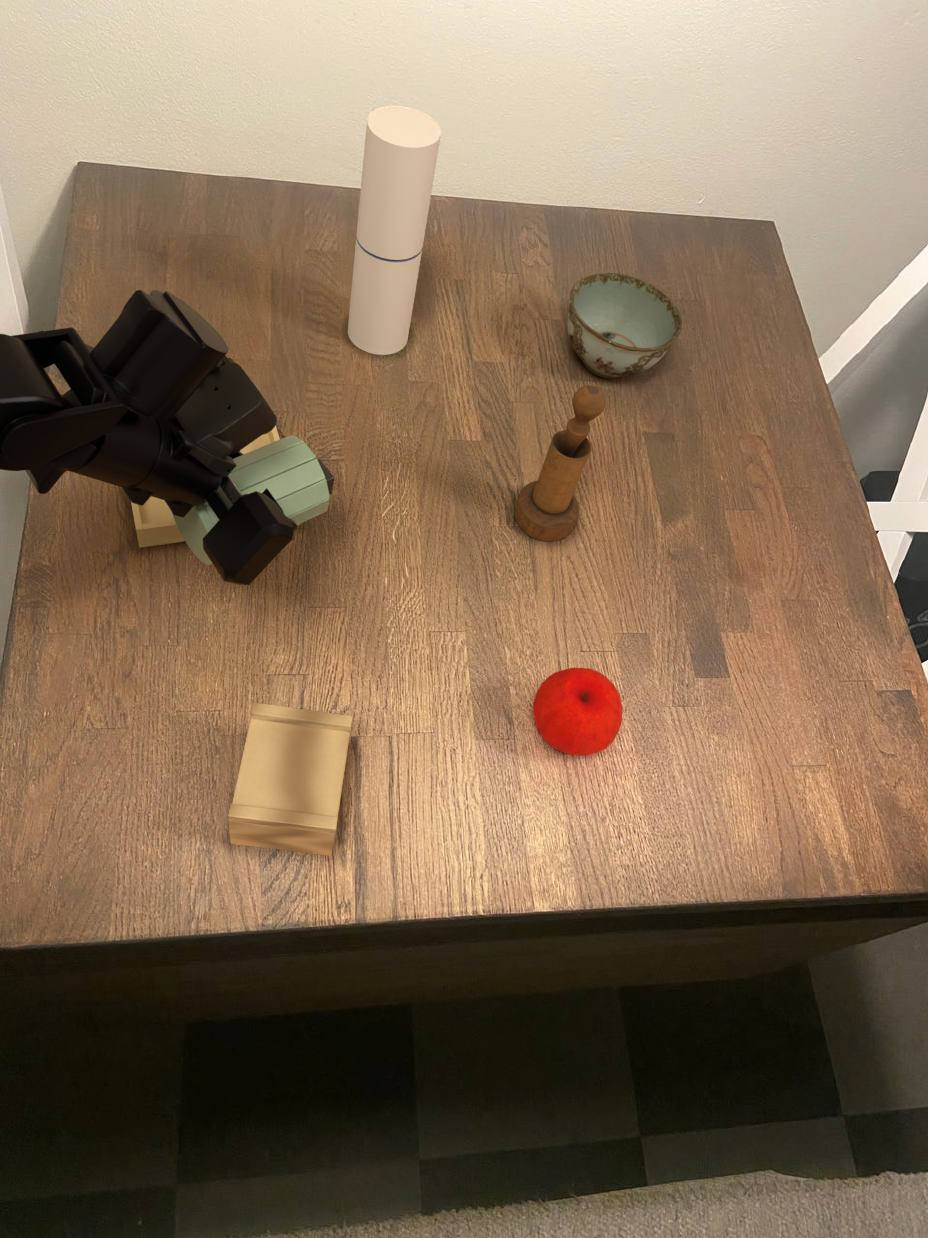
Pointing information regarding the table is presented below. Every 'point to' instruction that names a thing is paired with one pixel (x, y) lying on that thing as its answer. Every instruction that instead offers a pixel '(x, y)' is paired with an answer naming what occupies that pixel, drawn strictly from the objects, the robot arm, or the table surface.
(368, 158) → the cylindrical container
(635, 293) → the bowl
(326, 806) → the wooden block
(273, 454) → the grooved sage-green cylinder
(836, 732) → the table surface
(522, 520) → the mortar and pestle
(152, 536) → the tray
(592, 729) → the apple
